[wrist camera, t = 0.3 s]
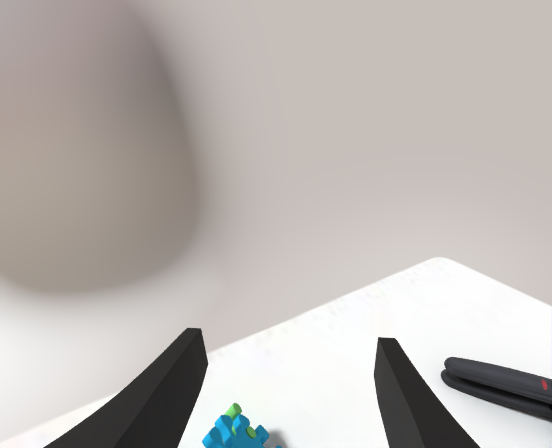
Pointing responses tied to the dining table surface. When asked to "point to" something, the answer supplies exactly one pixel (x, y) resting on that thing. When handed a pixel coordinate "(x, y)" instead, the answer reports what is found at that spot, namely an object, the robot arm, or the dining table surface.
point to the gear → (235, 432)
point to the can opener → (500, 385)
